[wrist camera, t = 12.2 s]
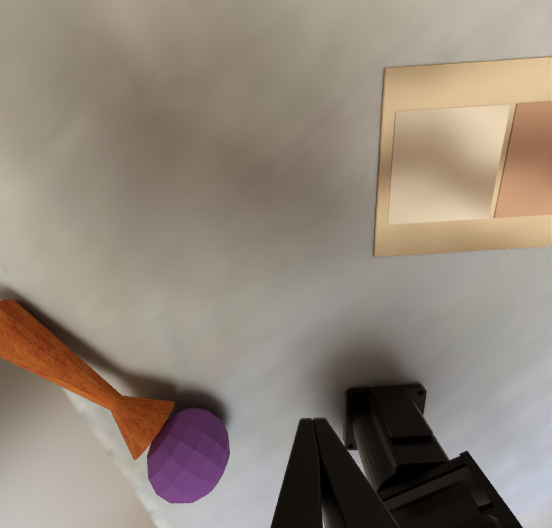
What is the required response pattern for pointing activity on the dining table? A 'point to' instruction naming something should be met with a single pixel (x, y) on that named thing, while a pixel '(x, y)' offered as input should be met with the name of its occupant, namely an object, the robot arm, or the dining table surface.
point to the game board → (465, 158)
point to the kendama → (126, 411)
